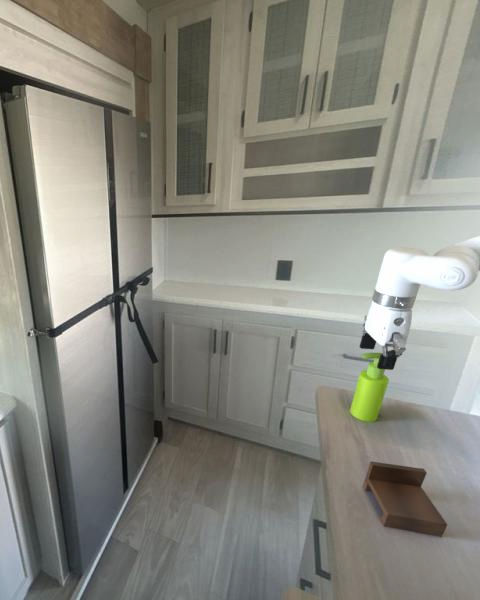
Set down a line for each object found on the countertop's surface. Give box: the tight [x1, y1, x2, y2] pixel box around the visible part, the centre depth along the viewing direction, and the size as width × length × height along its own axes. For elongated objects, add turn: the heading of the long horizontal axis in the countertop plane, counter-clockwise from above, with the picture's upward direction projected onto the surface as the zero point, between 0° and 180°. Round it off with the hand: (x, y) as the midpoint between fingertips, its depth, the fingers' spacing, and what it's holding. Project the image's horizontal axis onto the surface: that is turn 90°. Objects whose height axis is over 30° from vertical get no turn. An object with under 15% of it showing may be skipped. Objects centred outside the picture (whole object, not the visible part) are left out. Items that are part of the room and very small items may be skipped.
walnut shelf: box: [362, 461, 448, 538], centre depth 67 cm, size 9×9×9 cm
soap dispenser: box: [349, 352, 390, 423], centre depth 90 cm, size 6×7×20 cm
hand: (375, 358), depth 87 cm, fingers open, 9 cm apart
